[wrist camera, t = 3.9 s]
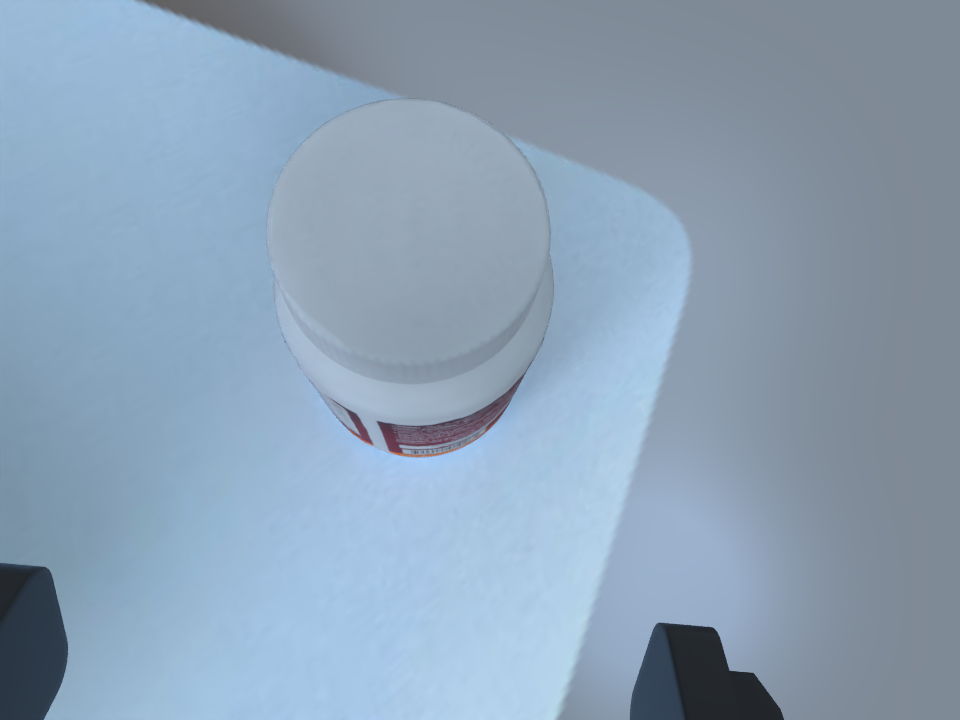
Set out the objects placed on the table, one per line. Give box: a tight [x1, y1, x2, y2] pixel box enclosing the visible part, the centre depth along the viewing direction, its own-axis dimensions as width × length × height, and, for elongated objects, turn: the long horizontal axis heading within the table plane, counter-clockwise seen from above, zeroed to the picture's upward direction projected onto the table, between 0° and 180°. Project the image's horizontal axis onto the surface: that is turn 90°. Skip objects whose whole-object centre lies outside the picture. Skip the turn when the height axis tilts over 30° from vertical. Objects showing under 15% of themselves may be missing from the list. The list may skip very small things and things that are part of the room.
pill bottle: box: [266, 98, 554, 458], centre depth 20 cm, size 6×6×11 cm
